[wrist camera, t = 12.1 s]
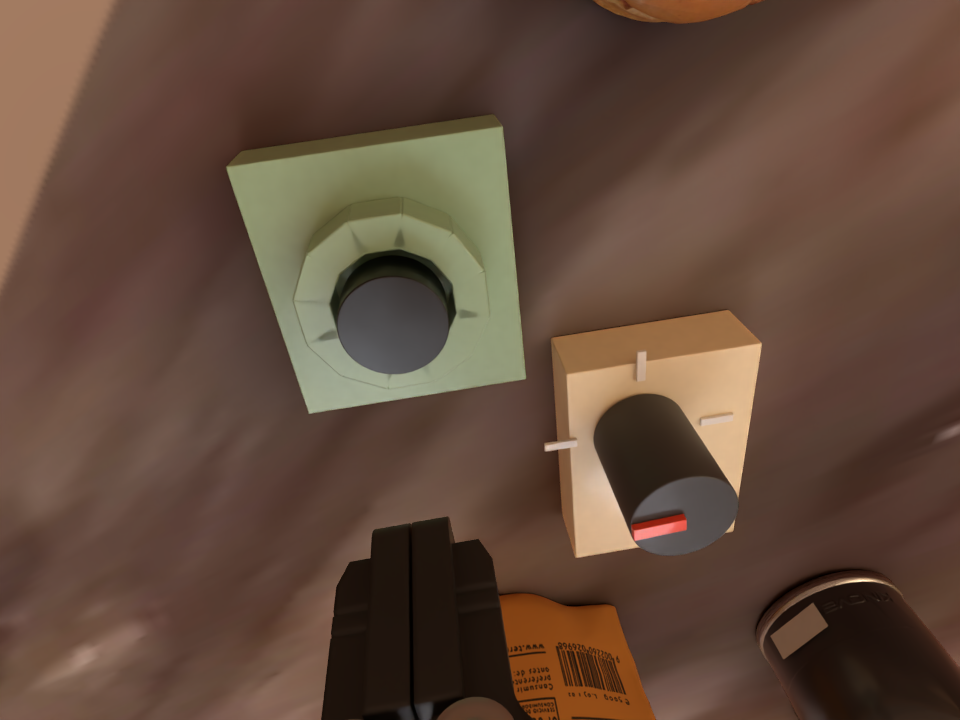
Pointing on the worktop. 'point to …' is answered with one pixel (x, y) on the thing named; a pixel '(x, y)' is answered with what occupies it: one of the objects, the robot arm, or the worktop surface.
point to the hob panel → (647, 370)
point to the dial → (663, 476)
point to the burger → (674, 9)
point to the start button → (393, 315)
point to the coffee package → (571, 661)
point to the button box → (387, 249)
